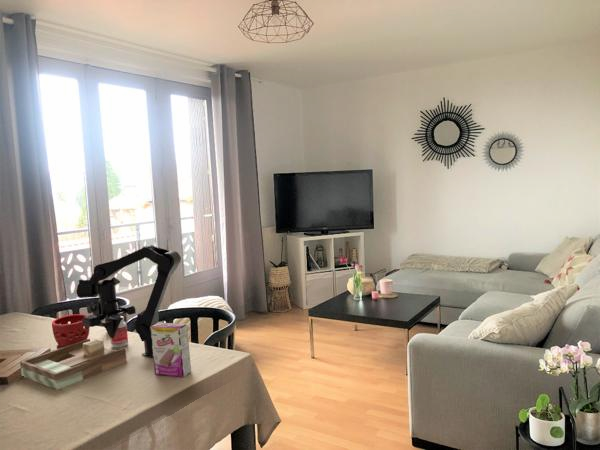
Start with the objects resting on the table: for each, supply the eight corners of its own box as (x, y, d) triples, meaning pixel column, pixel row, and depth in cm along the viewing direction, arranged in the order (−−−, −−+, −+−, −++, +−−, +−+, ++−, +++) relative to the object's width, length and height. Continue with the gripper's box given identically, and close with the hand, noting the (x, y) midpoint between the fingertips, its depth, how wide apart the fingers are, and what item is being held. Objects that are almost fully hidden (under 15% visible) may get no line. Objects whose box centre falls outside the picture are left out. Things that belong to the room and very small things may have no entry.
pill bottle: (131, 344, 193) (128, 316, 192) (115, 349, 189) (112, 320, 188) (124, 341, 198) (121, 314, 197) (109, 345, 194) (106, 318, 193)
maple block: (104, 352, 178) (103, 341, 177) (91, 356, 174) (90, 345, 173) (96, 349, 181) (95, 339, 180) (83, 354, 177) (82, 343, 176)
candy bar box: (153, 375, 161) (149, 326, 159) (162, 369, 166) (158, 321, 164) (183, 378, 158) (179, 328, 156) (192, 371, 162) (187, 323, 160)
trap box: (126, 362, 175) (125, 348, 174) (57, 389, 155) (55, 374, 154) (89, 351, 188) (88, 338, 188) (21, 375, 168) (20, 361, 168)
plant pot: (47, 353, 189) (43, 322, 188) (74, 341, 201) (71, 313, 200) (73, 356, 184) (69, 324, 183) (99, 344, 196) (96, 314, 195)
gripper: (116, 288, 193) (121, 327, 195) (71, 300, 178) (76, 342, 180) (134, 291, 187) (138, 331, 188) (88, 304, 172) (93, 347, 173)
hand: (112, 338), depth 183 cm, fingers closed
